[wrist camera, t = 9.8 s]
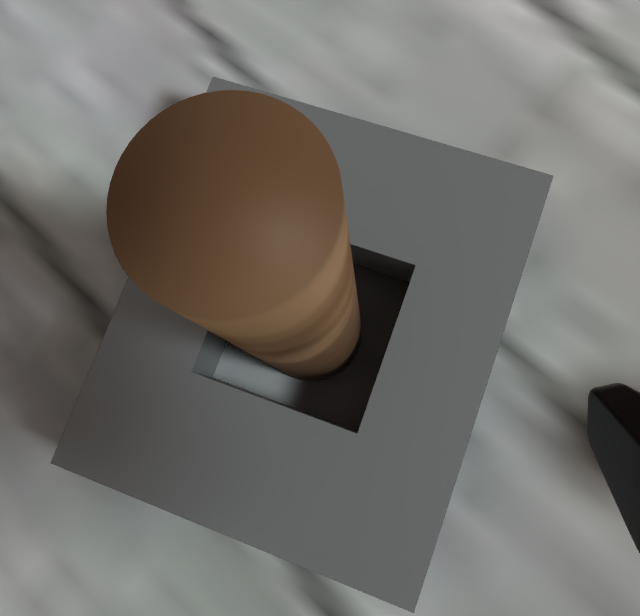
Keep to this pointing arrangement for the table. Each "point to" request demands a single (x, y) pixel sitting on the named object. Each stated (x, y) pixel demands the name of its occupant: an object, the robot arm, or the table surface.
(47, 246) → the table surface
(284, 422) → the slate hole plate
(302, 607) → the table surface
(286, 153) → the walnut pin
